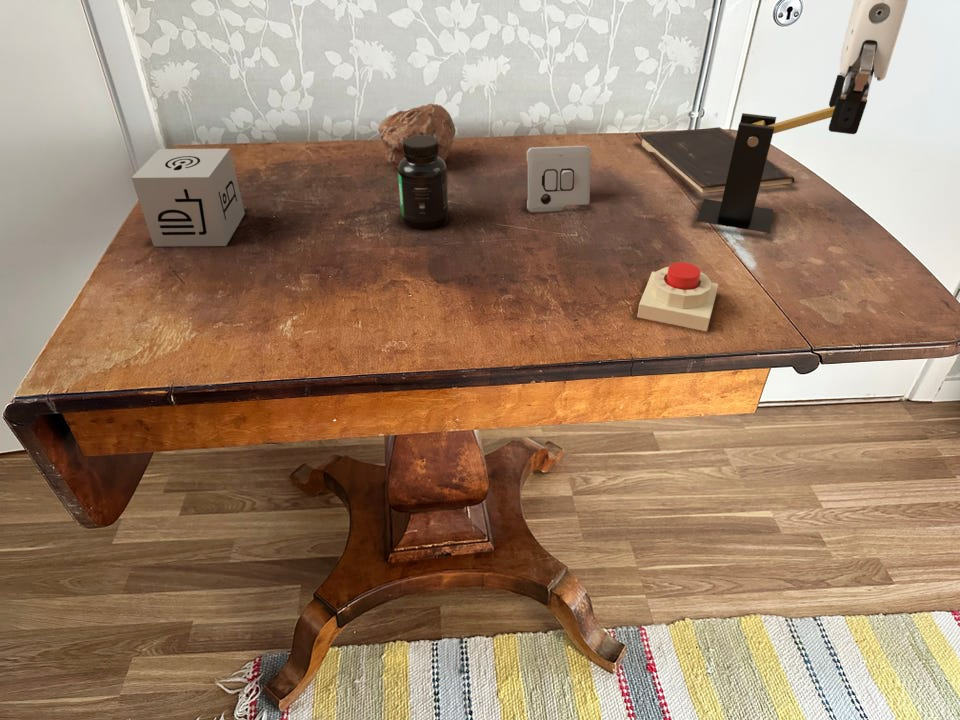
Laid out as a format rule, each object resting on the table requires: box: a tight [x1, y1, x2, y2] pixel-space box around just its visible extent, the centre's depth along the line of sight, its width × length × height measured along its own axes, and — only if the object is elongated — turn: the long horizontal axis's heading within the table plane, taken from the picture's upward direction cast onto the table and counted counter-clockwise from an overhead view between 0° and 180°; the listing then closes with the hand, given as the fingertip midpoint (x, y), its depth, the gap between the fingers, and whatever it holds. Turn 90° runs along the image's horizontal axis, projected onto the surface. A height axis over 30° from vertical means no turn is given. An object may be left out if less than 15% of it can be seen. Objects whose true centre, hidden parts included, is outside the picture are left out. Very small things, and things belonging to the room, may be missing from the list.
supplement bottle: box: [397, 135, 449, 231], centre depth 99 cm, size 7×7×12 cm
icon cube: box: [131, 148, 246, 248], centre depth 98 cm, size 10×10×10 cm
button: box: [666, 262, 701, 290], centre depth 81 cm, size 4×4×2 cm
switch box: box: [636, 266, 719, 332], centre depth 83 cm, size 8×8×4 cm
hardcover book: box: [639, 126, 795, 194], centre depth 118 cm, size 16×23×2 cm
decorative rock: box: [377, 103, 457, 170], centre depth 117 cm, size 13×11×10 cm
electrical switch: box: [526, 145, 592, 213], centre depth 104 cm, size 9×5×9 cm, turn 95°
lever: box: [753, 106, 835, 135], centre depth 91 cm, size 13×5×2 cm, turn 68°
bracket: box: [696, 112, 777, 234], centre depth 98 cm, size 10×8×15 cm
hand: (841, 119), depth 89 cm, fingers open, 9 cm apart
